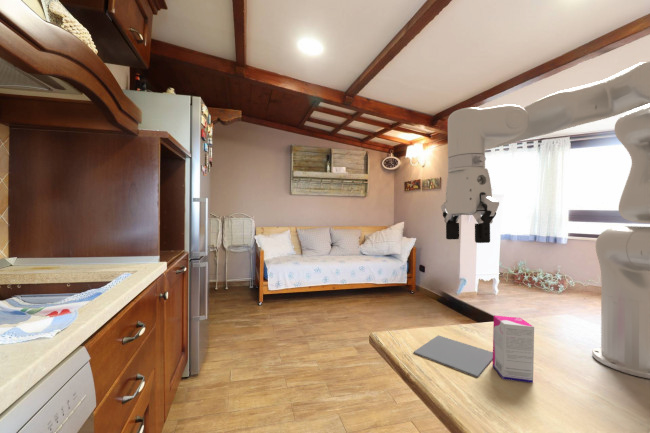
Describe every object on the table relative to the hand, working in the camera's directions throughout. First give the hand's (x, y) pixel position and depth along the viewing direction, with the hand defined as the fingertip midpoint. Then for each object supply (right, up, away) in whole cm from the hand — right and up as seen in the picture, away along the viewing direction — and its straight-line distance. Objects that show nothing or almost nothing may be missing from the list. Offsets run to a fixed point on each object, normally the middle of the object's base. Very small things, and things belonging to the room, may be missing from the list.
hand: (466, 240), depth 63 cm
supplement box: (+8, -28, -4) cm, 30 cm away
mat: (0, -28, +5) cm, 29 cm away
